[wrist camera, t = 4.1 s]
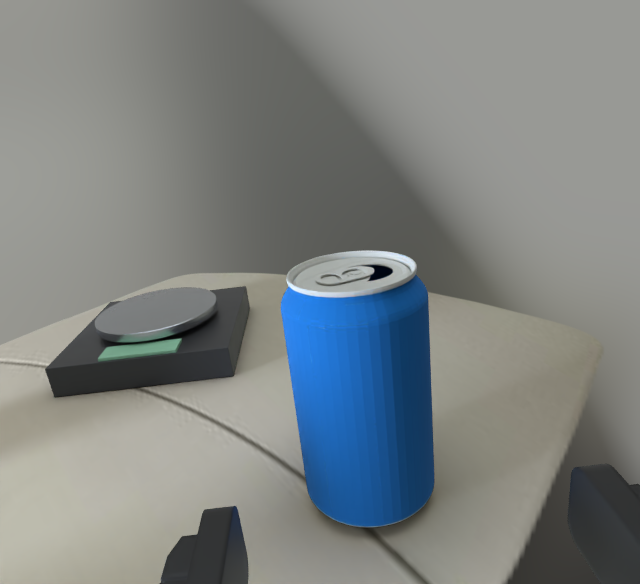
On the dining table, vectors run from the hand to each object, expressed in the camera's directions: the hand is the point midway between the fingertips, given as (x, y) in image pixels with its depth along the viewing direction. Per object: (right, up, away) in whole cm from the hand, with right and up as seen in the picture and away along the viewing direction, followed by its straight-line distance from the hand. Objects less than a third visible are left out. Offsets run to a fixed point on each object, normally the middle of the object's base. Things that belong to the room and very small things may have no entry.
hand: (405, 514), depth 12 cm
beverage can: (+1, -5, +14) cm, 15 cm away
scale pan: (-16, +3, +32) cm, 36 cm away
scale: (-16, 0, +33) cm, 37 cm away
